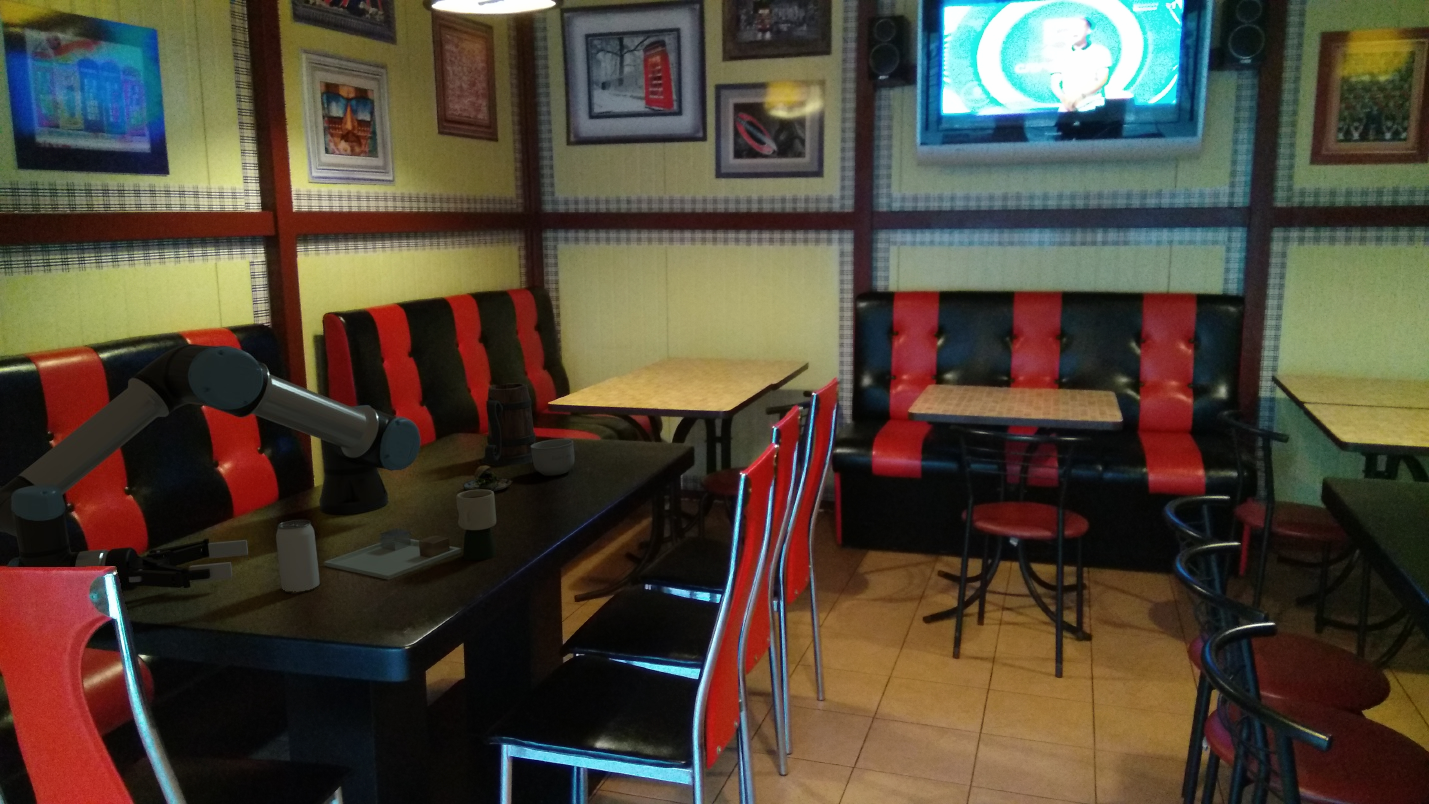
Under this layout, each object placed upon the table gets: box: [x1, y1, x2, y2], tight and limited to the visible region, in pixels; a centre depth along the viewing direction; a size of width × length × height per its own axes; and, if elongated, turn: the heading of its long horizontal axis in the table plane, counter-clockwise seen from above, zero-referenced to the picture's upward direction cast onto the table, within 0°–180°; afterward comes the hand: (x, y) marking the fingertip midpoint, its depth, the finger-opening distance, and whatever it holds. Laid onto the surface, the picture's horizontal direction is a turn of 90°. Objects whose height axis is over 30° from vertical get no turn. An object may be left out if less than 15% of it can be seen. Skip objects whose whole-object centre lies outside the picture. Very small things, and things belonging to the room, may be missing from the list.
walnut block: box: [419, 535, 451, 558], centre depth 214 cm, size 4×4×3 cm
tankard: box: [481, 382, 537, 467], centre depth 295 cm, size 24×17×20 cm
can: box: [275, 519, 321, 592], centre depth 199 cm, size 6×6×12 cm
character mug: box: [455, 490, 497, 561], centre depth 211 cm, size 11×7×13 cm, turn 166°
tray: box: [323, 538, 462, 581], centre depth 212 cm, size 18×18×2 cm
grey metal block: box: [379, 528, 411, 551], centre depth 219 cm, size 4×4×3 cm
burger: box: [462, 462, 513, 492], centre depth 266 cm, size 12×12×8 cm
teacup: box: [531, 437, 575, 477], centre depth 281 cm, size 14×11×8 cm
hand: (239, 558), depth 197 cm, fingers open, 13 cm apart
